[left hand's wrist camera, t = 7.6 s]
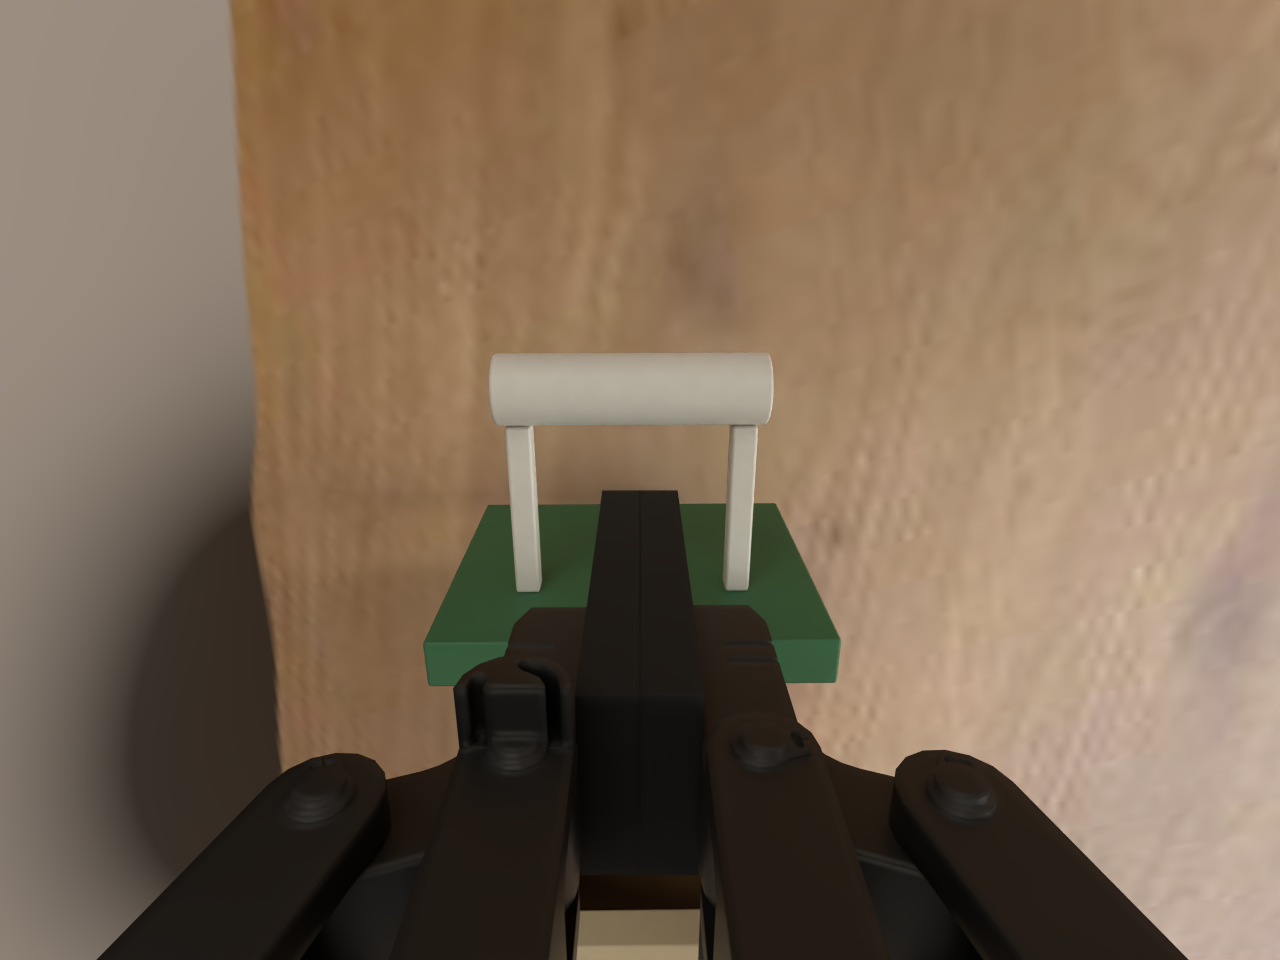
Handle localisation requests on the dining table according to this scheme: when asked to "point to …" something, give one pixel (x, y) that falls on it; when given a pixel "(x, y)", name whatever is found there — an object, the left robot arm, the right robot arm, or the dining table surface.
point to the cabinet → (639, 934)
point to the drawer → (566, 534)
